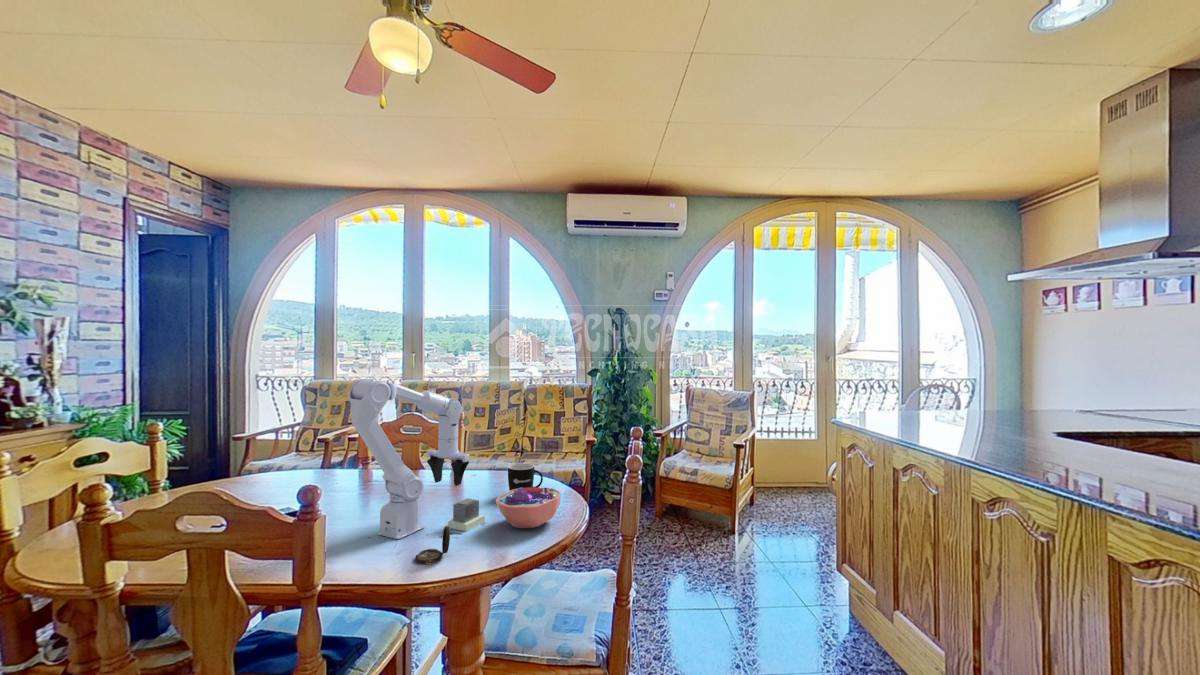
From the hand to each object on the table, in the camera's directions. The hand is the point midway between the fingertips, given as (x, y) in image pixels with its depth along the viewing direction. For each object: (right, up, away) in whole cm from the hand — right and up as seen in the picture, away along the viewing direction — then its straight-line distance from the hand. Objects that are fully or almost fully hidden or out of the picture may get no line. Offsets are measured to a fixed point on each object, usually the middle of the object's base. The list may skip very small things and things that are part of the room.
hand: (447, 483), depth 146 cm
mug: (+20, -11, +20) cm, 31 cm away
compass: (+6, -10, -30) cm, 32 cm away
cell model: (+26, -10, -6) cm, 28 cm away
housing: (+8, -8, -7) cm, 13 cm away
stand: (+8, -10, -7) cm, 14 cm away
